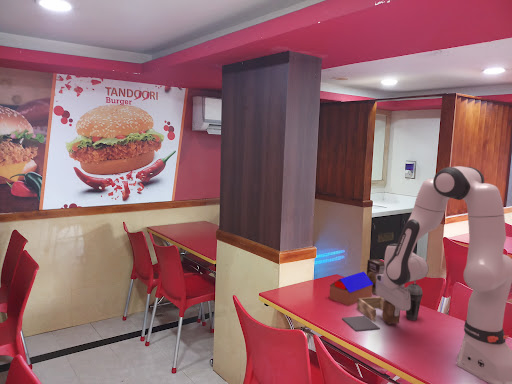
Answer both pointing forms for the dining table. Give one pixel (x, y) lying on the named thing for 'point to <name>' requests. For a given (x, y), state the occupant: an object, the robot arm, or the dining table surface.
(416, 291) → the beverage cup
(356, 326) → the mat
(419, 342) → the dining table surface
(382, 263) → the coffee box
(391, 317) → the block
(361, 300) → the wooden open frame
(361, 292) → the house
